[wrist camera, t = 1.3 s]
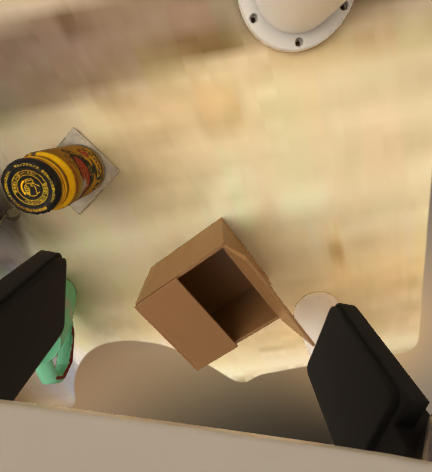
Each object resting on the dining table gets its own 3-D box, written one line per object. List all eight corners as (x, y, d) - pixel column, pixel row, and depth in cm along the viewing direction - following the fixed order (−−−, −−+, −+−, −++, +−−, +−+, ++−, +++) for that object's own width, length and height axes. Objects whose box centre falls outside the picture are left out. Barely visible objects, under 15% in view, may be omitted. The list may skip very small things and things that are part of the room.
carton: (221, 217, 41) (223, 245, 31) (268, 278, 44) (283, 320, 35) (151, 267, 44) (133, 307, 34) (200, 321, 47) (197, 371, 38)
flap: (222, 246, 32) (225, 244, 32) (282, 320, 35) (284, 318, 35) (244, 259, 26) (247, 257, 26) (313, 346, 29) (315, 344, 29)
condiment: (120, 170, 39) (81, 190, 27) (79, 213, 41) (28, 248, 29) (74, 127, 37) (13, 129, 26) (34, 174, 39) (-39, 195, 28)
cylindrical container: (290, 297, 46) (369, 483, 22) (337, 287, 45) (469, 467, 22) (297, 334, 48) (375, 536, 25) (342, 325, 47) (466, 523, 24)
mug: (15, 267, 44) (-39, 307, 34) (79, 256, 43) (42, 293, 34) (53, 346, 49) (15, 399, 39) (111, 337, 48) (86, 389, 39)
